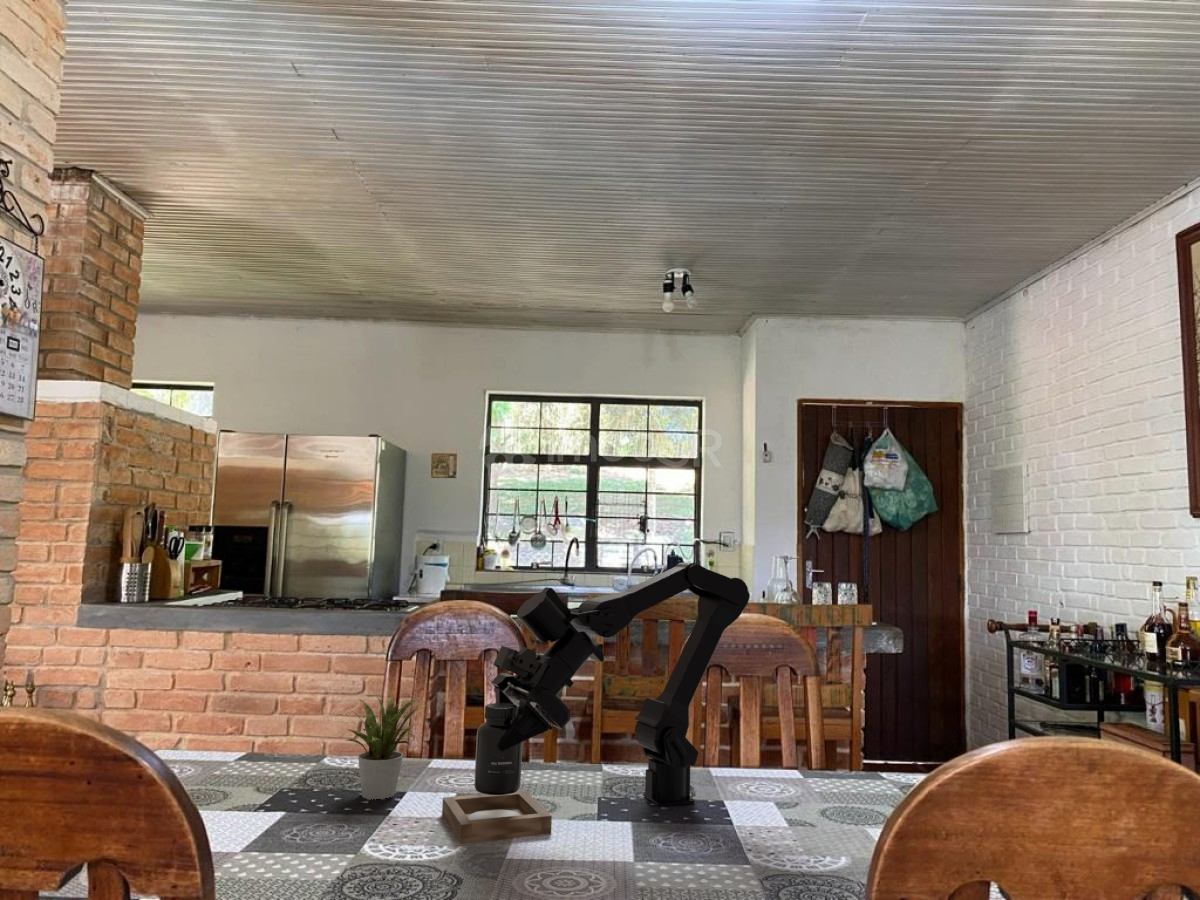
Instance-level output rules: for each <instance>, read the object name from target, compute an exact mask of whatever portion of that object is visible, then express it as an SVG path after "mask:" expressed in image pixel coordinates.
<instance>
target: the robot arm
mask: <svg viewBox="0 0 1200 900" xmlns="http://www.w3.org/2000/svg"><path fill="white" fill-rule="evenodd" d="M687 590H688V591H689V592H690V593H691V594H692V595H695V596H697V597H698V600H697V620H696V621H695V624H694V626H693V628H692V630H691V632H690V635H689V636H688V638H687V641H686V643H685V645H684V647H683V649H682V651H681V654H680V655H679V657H678V660H677V662H676V664H675V666H674V668H673V670H672V673H671V675H670V676H669V679H668V681H667V682H666V685H665V687H664V689H663V691H662V692H661V693H660V694H659V696H657V697H656V698H655V699H653V698H650V697H646V698H645V699H644V701H643V703H642V706H641V709H640V711H639V713H638V714H637V715H636V716H635V717H634V720H635V721H637V722H636V723H635V726H634V733H635V736H636V740H637V742H638V744H639V745H640V746H641V748H642V751H643V755H644V756H645V757H649V758H648V761H647V763H648V765H647V766H648V767H647V768H646V770H645V783H644V784H645V790H644V791H643V793H642V794H643V797H645V798H647V800H649V801H651V802H652V803H654V804H656V805H657V806H658V807H665V806H675V805H686V804H687V805H688V804H695V803H696V800H695V798H694V797H691V766H696V762H697V760H698V756H699V751H698V750H697V749H696V747H695V746H694V745H693V744H692V743H691V742H690V740H688V738H687V734H688V731H689V726H690V705H691V703H692V700H694V699H693V698H694V696H695V693H696V692H697V690H698V687H699V685H700V684H701V681H702V679H703V677H704V675H705V672H706V670H707V668H708V666H709V664H710V661H711V659H712V656H713V655H714V653H715V651H716V649H717V646H718V644H719V642H720V640H721V638H722V636H723V633H724V632H725V630H726V629H727V628H728V627H730V625H732V624H733V623H734V622H735V621H737V620H738V619H739V618H740V616H741V614H742V613H743V611H744V610H745V608H746V607H747V606H748V605H749V604H748V603H749V601H750V598H751V593H750V592H749V587H748V585H747V584H746V582H745V581H744V579H742V578H739V577H732V576H731V577H730V576H729V577H728V576H727V575H724V574H721V573H718V572H716V571H713V570H710V569H708V568H706V567H704V566H702V565H700V564H699V563H697V562H679V563H677V564H676V565H675V566H674V567H672V568H670V569H667V570H665V571H664V572H661V573H659V574H657V575H655V576H653V577H651V578H649V579H647V580H645V581H643V582H642V581H641V582H640V583H639V584H637V585H634V586H632V587H630V588H628V589H625V590H624V591H620V592H616V593H610V594H603V595H600V596H596V597H593V598H588V599H585V600H584V601H582V602H581V604H579V606H577V607H568V606H567V605H566V604H565V603H564V602H563V601H562V599H561V598H560V597H559V595H558V593H557V592H556V591H555V590H554V589H553V587H544V588H543V589H542V591H540V592H537V593H536V594H534V595H533V596H531V597H530V598H529V599H526V600H525V601H524V602H523V604H522V605H520V607H519V609H518V610H517V613H516V617H517V618H518V619H519V620H520V621H521V623H523V624H524V626H525V627H526V628H527V629H528V630H529V631H530V632H531V634H533V635H534V636H535V638H536V639H537V640H538V641H539V642H540V643H546V642H549V643H551V645H550V646H549V647H548V649H547V650H545V652H544V653H543V654H541V653H537V652H536V651H535V650H533V649H530V648H529V647H525V646H524V647H522V648H521V649H520V650H519V651H518V650H516V649H514V648H511V647H508V646H504V645H501V646H500V648H499V651H498V652H497V656H496V657H495V659H494V661H493V664H492V665H493V666H495V667H497V668H499V669H503V670H505V671H508V672H510V673H513V674H515V675H512V674H510V673H504V672H503V673H498V674H497V675H496V676H495V677H494V679H493V680H491V682H490V683H491V685H492V686H493V687H494V688H493V692H494V695H495V703H509V704H514V705H517V717H516V718H515V719H514V721H513V722H512V724H511V725H510V727H509V728H508V730H507V731H506V733H505V734H504V735H503V737H502V739H501V740H500V742H499V743H498V745H497V747H498V748H499V749H500V750H501V751H504V750H506V749H509V748H511V747H513V746H515V745H517V744H519V743H521V742H522V743H524V742H525V741H527V740H529V739H531V738H535V736H539V735H541V734H543V733H545V732H547V731H552V730H553V727H555V728H557V729H559V730H561V731H562V730H563V729H564V728H565V727H566V725H567V724H568V723H569V722H570V721H571V710H570V709H569V707H567V705H566V704H565V703H564V702H563V701H562V700H561V699H560V698H559V697H558V695H560V693H561V692H562V690H563V689H564V688H569V689H571V688H572V686H573V685H574V682H573V680H572V679H573V678H574V676H575V675H576V674H577V673H578V671H579V670H580V669H581V668H582V667H583V666H584V664H585V663H586V662H587V661H588V659H591V660H593V661H597V662H601V663H602V662H604V661H605V655H604V644H603V643H599V642H595V641H593V639H592V638H591V637H590V636H589V635H591V636H597V637H601V638H608V639H609V638H611V637H615V636H616V635H617V634H619V633H620V632H622V631H623V630H624V629H625V628H626V627H628V626H629V625H630V624H631V623H632V622H633V620H634V619H635V618H636V617H637V616H638V615H640V614H641V613H642V612H644V611H647V610H649V609H650V608H653V607H655V606H656V605H659V604H660V603H663V602H664V601H666V600H669V599H671V598H672V597H674V596H677V595H679V594H681V593H683V592H684V591H687ZM574 625H576V626H578V628H579V629H580V630H581V631H578V629H576V628H575V627H574ZM551 724H552V725H551Z"/></svg>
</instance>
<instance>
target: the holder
mask: <svg viewBox="0 0 1200 900" xmlns="http://www.w3.org/2000/svg"><path fill="white" fill-rule="evenodd" d="M441 811H442V812H441V815H442V816H444V817H443V818H444V820H445V822H446V823H447V824H448V827H449V828H450V829H451V830H452V833H454V835H456V836H455V837H456V839H457V840H458V842H459V843H460V844H467V843H476V842H484V841H485V842H486V840H487V841H494V840H503V839H513V838H514V839H515V838H521V837H522V838H523V836H524V837H531V836H532V835H533V836H541V834H543V835H550V834H552V822H553V820H552V818H553V816H552V814H551V813H550V812H548V810H546V809H545V808H544V807H543V806H542V805H541V804H540V803H539V802H538V801H537V800H536V799H535V798H534V797H533V796H532V795H530V793H528V791H527V790H518V791H517V792H515V793H512V794H507V795H487V794H482V793H480V794H469V795H458V796H445V797H442V809H441ZM539 834H540V835H539ZM466 842H467V843H466Z"/></svg>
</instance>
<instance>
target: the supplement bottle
mask: <svg viewBox="0 0 1200 900" xmlns="http://www.w3.org/2000/svg"><path fill="white" fill-rule="evenodd" d="M516 717H517V705H514V704H509V703H496V702H494V703H493V702H492V703H488V704H486V705H485V707H484V715H483V718H484V720H485V722H483V723H482V724H480V725H479V727H477V731H476V744H475V745H476V747H475V765H474V785H473V786H474V789H475V791H476V792H477V793H480V794H487V795H507V794H512V793H515V792H517V791H520V788H521V781H522V759H523V742H521V743H519V744H517V745H515V746H513V747H511V748H509V749H506V750H504V751H501V750H500V749H499V748H498V747H497V745H498V743H499V742H500V740H501V739H502V737H503V735H504V734H505V733H506V731H507V730H508V728H509V727H510V725H511V724H512V722H513V721H514V719H515V718H516Z"/></svg>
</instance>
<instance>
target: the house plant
mask: <svg viewBox="0 0 1200 900" xmlns="http://www.w3.org/2000/svg"><path fill="white" fill-rule="evenodd" d="M373 694H374V695H375V697H376V699H377V701H378V702H379V708H380V713H381V714H380V715H381V720H379V721H378V722H377V718H376V715H375V713H374V711H373V708H371V707H370V706H369V704H367V703H366V702H365V701H364V700H363V699H359V698H358V700H359V701H360V703H361V705H362V708H363V710H364V712H365V715H366V718H365V720H364V721H363V720H361V722H362V723H363V724H364V728H362V731H364V732H365V733H364V732H361V731H359V730H356V729H349V728H347V731H349V732H351V733H353V734H354V735H355V736H356V737H359V738H360V739H362V740H363V741H364V742H365V744H366V745H367V746H368V751H367V748H366V747H365V745H364V744H363V743H362V742H360V741H359V740H357V739H355V738H348V739H346V740H345V742H353V743H356V744H358V745H360V746H361V747H362V748H363V749H364V750H365V751H363V752H361V753H360V754H358V756H357V757H358V758H357V759H358V769H359V779H360V789H361V790H360V791H361V792H360V793H361V797H362V798H363V799H365V798H366V799H365V800H369V801H372V800H373V799H375V801H377V800H376V799H381V800H386V799H385V798H388V799H390V798H389V797H391V798H393V797H394V796H395V795H396V791H397V785H398V782H399V776H400V772H401V767H402V764H403V763H402V762H403V757H404V754H403V752H401V751H397V750H395V749H396V747H397V746H398V744H406V745H409V746H410V747H411V744H410V742H409V741H408V740H402V739H403V738H404V737H409V738H412V739H413V740H415V735H414V734H413V733H410V730H411V729H412V728H413V727H415V726H417V725H419V723H415V724H411V725H409V726H408V727H406V728H405V729H403V727H404V726H405V724H406V722H407V721H408V719H410V717H411V716H412V714H414V713H416V712H417V711H418V710H419V709H420V710H421V709H423V708H424V707H426V706H427V707H428V706H430V705H428V704H419V705H417V706H414V707H413V708H412V709H410V710H409V711H408V712H407V713H406V714H405V715H404V717H403V714H404V713H405V711H406V710H408V708H409V707H410V706H412V705H413V703H415V702H416V701H418V700H419V699H423V698H424V696H421V697H416V698H413V699H411V700H409V701H407V703H405V704H404V705H403V706H402V707H400V708H398V707H399V704H402V703H403V702H401V701H400V702H399V703H396V705H395V704H394V701H393V698H392V697H391V696H388V699H387V704H386V705H387V706H386V710H385V708H384V703H383V701H382V698H381V696H379V695H377V694H376V693H375V692H373ZM394 705H395V706H394ZM344 708H345V709H348V710H349V711H351V712H352V713H354V714H355V715H356V716H357V718H359V719H361V717H360V716H359V715H358V714H357V713H356V712H354V710H351V709H350V708H348V707H346V706H345V707H344ZM397 708H398V710H397ZM401 717H403V718H402V719H401ZM400 719H401V721H400ZM399 721H400V722H399ZM398 723H399V724H398ZM400 732H401V734H400ZM407 732H408V733H409V734H407ZM399 734H400V735H399ZM397 737H398V738H397ZM392 796H393V797H392ZM371 799H372V800H371ZM373 801H374V800H373Z"/></svg>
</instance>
